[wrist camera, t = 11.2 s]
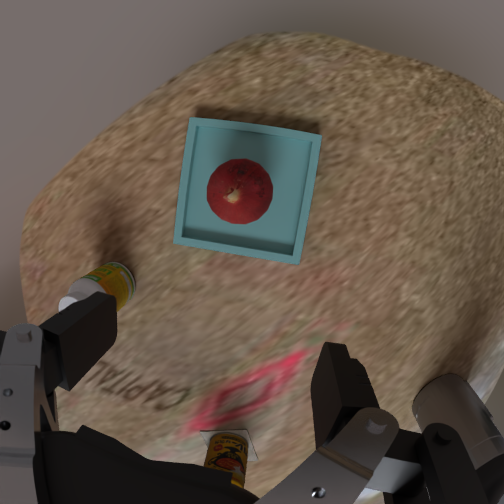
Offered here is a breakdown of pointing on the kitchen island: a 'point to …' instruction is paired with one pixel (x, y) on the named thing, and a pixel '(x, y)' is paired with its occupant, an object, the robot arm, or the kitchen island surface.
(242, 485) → the condiment
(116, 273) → the supplement bottle
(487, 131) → the kitchen island surface
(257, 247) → the tray
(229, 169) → the dark red rounded piece
